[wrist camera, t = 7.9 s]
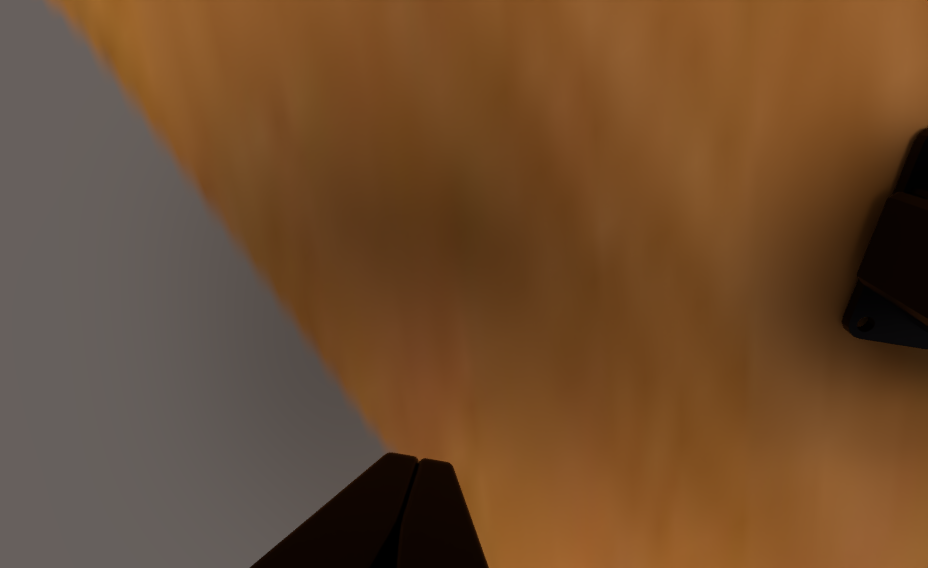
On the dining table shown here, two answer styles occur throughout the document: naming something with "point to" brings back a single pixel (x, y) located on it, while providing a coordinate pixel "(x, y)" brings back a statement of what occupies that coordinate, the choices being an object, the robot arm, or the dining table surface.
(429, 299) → the dining table surface
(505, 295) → the dining table surface
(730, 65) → the dining table surface
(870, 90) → the dining table surface
